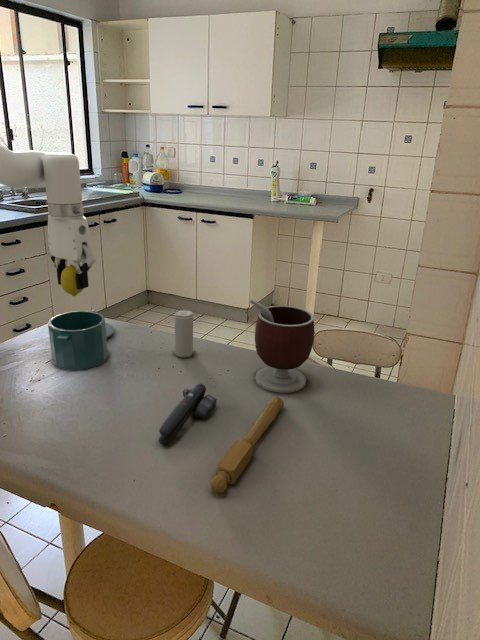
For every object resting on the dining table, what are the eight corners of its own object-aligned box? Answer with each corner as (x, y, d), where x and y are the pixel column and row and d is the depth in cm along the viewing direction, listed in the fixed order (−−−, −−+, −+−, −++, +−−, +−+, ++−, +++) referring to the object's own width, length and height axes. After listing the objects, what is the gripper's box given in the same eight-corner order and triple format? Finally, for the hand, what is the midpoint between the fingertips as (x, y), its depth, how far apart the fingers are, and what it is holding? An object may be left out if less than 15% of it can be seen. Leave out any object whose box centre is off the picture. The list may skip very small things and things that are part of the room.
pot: (38, 373, 112) (32, 333, 108) (70, 341, 129) (66, 305, 125) (92, 377, 111) (89, 337, 107) (117, 344, 128) (115, 308, 124)
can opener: (192, 398, 104) (192, 376, 102) (220, 406, 101) (220, 384, 99) (145, 441, 89) (144, 416, 87) (175, 452, 86) (175, 427, 84)
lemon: (69, 301, 110) (66, 269, 107) (58, 295, 113) (54, 264, 110) (90, 296, 114) (87, 265, 111) (78, 291, 117) (76, 260, 114)
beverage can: (171, 354, 124) (170, 313, 119) (183, 348, 127) (183, 308, 123) (184, 360, 121) (184, 317, 117) (196, 353, 125) (197, 312, 120)
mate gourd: (309, 369, 119) (318, 296, 111) (307, 397, 106) (316, 317, 99) (250, 362, 121) (254, 290, 114) (241, 389, 109) (245, 310, 101)
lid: (53, 343, 127) (50, 321, 125) (72, 323, 140) (70, 302, 138) (105, 346, 127) (103, 324, 124) (119, 326, 140) (118, 305, 137)
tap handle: (285, 398, 100) (223, 484, 75) (284, 410, 101) (223, 499, 76) (271, 394, 101) (206, 478, 76) (271, 406, 103) (206, 493, 77)
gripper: (105, 212, 105) (110, 288, 112) (53, 204, 113) (60, 276, 119) (80, 216, 99) (87, 296, 106) (26, 208, 106) (36, 283, 113)
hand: (73, 285), depth 113 cm, fingers closed on lemon, 5 cm apart
